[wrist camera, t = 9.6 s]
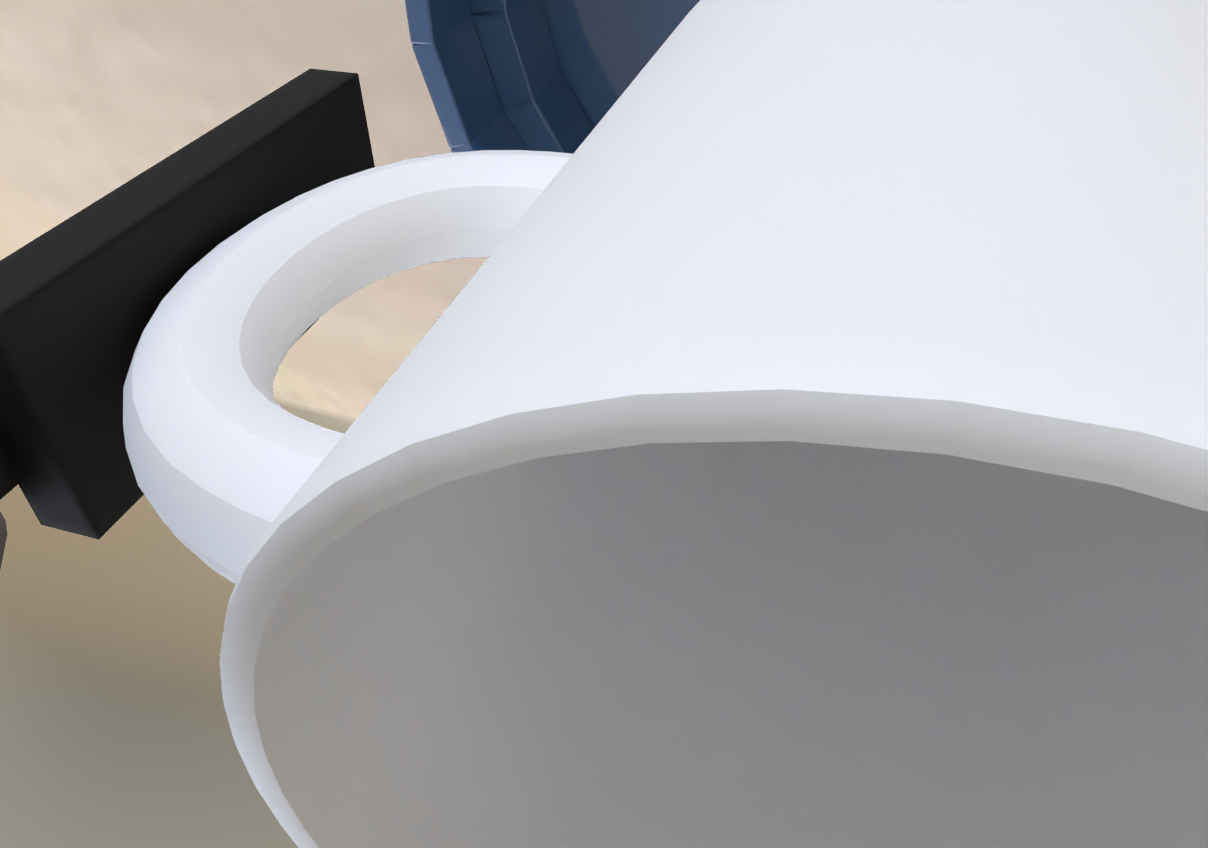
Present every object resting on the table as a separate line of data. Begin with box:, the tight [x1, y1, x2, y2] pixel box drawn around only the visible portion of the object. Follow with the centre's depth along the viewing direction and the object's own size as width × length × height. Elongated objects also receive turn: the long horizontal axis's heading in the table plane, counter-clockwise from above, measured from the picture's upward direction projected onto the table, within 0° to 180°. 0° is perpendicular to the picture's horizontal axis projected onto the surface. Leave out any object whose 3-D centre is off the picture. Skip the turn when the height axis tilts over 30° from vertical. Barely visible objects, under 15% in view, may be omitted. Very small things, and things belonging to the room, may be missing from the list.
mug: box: [123, 0, 1208, 848], centre depth 10 cm, size 12×8×10 cm
